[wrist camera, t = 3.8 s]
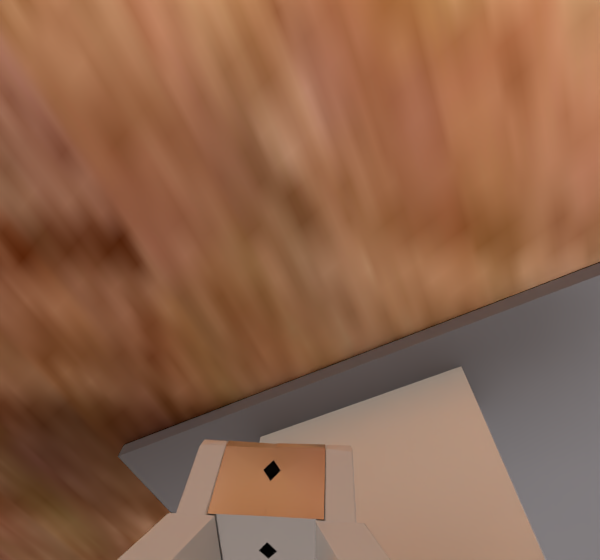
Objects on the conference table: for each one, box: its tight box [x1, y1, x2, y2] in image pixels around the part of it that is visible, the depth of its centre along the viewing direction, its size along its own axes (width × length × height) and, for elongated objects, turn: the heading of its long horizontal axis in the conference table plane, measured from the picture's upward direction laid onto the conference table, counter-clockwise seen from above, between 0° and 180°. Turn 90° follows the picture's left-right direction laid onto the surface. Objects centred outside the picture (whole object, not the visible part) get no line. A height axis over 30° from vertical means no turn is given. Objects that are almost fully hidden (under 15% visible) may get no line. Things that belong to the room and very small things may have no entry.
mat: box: [118, 263, 600, 560], centre depth 18 cm, size 22×14×1 cm, turn 118°
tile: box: [259, 367, 546, 560], centre depth 12 cm, size 8×2×9 cm, turn 118°
